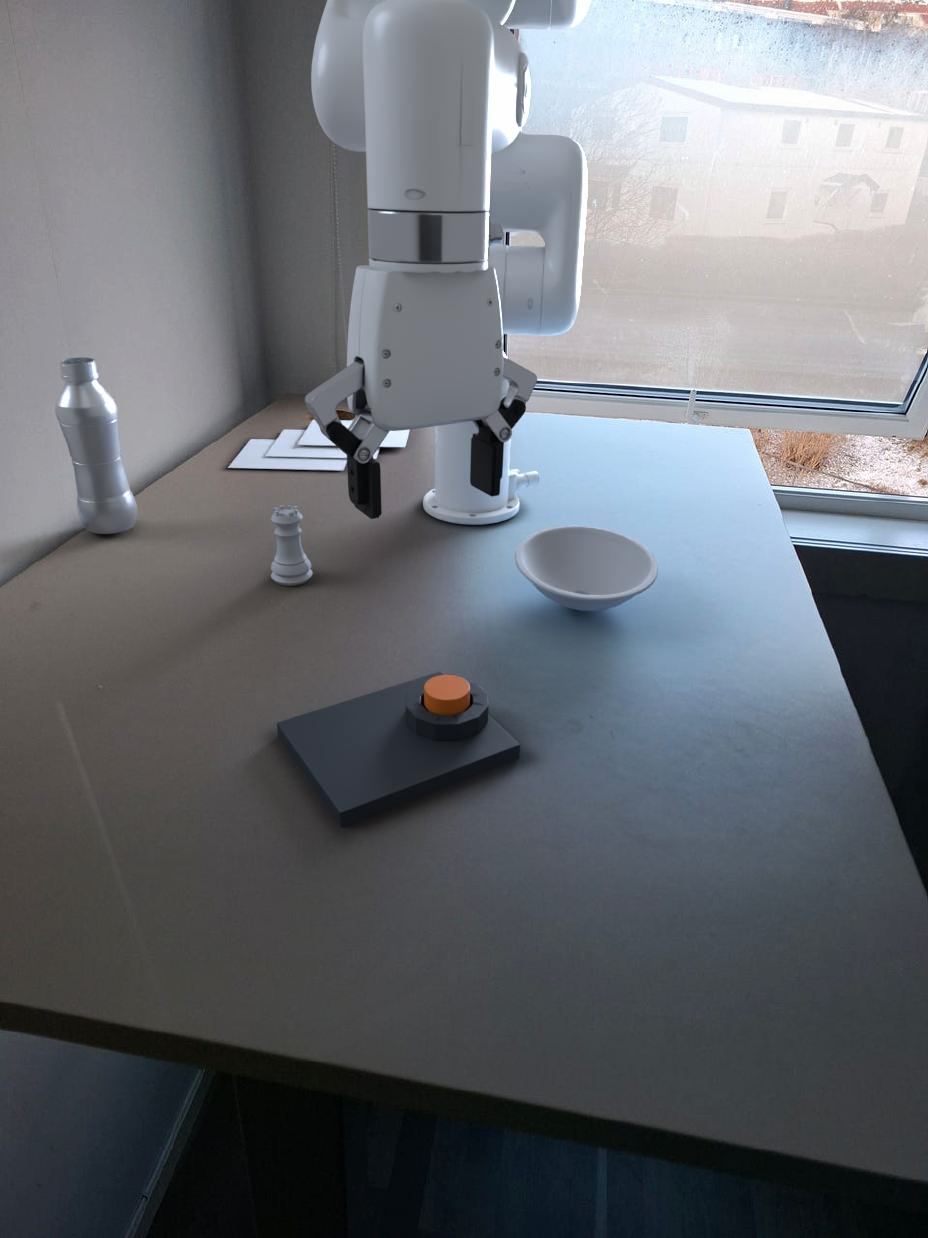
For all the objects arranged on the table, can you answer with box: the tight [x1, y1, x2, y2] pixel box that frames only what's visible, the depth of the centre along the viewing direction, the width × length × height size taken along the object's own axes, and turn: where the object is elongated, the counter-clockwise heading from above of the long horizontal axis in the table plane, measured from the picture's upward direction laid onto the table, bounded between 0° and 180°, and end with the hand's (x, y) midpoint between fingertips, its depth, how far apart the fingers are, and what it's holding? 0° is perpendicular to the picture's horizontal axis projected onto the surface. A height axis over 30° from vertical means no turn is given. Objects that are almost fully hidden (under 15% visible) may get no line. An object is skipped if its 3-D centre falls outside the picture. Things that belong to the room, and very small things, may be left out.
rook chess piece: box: [270, 504, 313, 587], centre depth 89 cm, size 4×4×8 cm
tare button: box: [424, 674, 470, 715], centre depth 66 cm, size 4×4×2 cm
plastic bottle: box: [54, 356, 138, 535], centre depth 97 cm, size 6×7×20 cm
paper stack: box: [227, 419, 411, 471], centre depth 131 cm, size 23×25×1 cm
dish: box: [514, 524, 659, 612], centre depth 86 cm, size 18×14×5 cm
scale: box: [276, 671, 521, 828], centre depth 65 cm, size 15×12×3 cm
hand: (428, 501), depth 61 cm, fingers open, 9 cm apart
